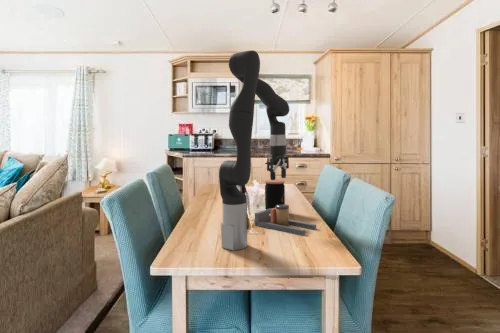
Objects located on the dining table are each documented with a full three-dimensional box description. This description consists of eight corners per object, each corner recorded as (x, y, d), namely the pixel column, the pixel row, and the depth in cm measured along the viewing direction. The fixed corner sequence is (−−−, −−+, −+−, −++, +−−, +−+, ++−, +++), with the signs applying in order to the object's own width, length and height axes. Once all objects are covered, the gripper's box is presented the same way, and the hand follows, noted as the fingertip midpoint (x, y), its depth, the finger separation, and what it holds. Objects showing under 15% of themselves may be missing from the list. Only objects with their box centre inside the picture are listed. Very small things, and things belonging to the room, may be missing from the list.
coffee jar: (285, 215, 170) (285, 182, 168) (265, 215, 170) (265, 182, 168) (283, 210, 180) (283, 179, 179) (265, 211, 180) (264, 179, 179)
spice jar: (284, 229, 145) (284, 207, 144) (273, 227, 149) (272, 206, 148) (291, 226, 150) (291, 205, 149) (280, 224, 154) (280, 203, 153)
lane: (316, 228, 145) (316, 215, 144) (302, 235, 136) (302, 221, 135) (269, 220, 161) (269, 208, 161) (255, 225, 152) (254, 213, 152)
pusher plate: (281, 223, 154) (281, 206, 153) (272, 226, 148) (272, 209, 148) (274, 221, 157) (273, 205, 156) (265, 224, 151) (265, 208, 150)
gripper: (280, 144, 157) (280, 176, 159) (262, 145, 146) (262, 180, 148) (293, 144, 152) (293, 177, 154) (275, 145, 141) (275, 181, 143)
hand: (278, 178), depth 151 cm, fingers open, 8 cm apart
